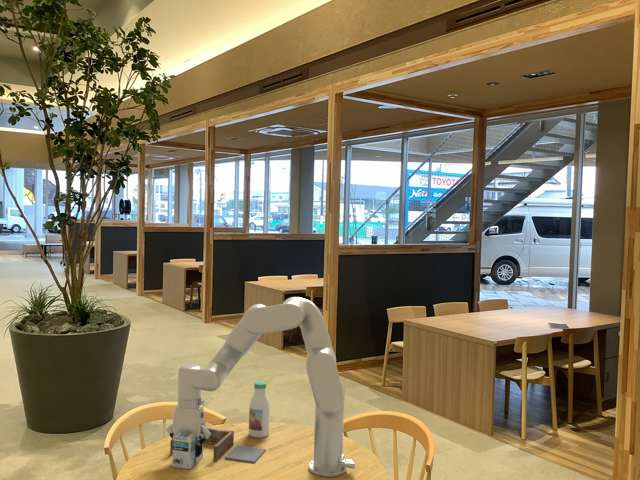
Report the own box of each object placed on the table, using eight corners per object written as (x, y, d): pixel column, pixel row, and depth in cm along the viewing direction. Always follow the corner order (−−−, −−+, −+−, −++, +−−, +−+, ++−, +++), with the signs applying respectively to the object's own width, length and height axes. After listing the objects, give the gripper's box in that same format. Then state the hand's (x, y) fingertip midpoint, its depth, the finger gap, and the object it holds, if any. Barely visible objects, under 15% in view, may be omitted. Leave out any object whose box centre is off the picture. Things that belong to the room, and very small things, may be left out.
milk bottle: (261, 429, 229) (263, 378, 228) (273, 435, 223) (274, 383, 222) (244, 433, 224) (246, 381, 223) (256, 439, 218) (257, 387, 218)
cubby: (233, 444, 213) (233, 431, 213) (216, 461, 199) (217, 446, 199) (189, 438, 218) (190, 425, 217) (170, 454, 203) (170, 440, 203)
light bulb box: (190, 470, 192) (191, 437, 191) (171, 467, 193) (172, 435, 192) (203, 456, 202) (204, 426, 202) (185, 454, 203) (186, 424, 203)
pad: (265, 450, 209) (265, 448, 209) (254, 463, 198) (254, 461, 198) (236, 446, 212) (236, 444, 212) (224, 458, 201) (224, 457, 201)
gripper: (217, 401, 198) (216, 453, 199) (171, 396, 202) (170, 446, 203) (208, 408, 191) (206, 462, 192) (160, 402, 195) (159, 455, 196)
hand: (188, 453), depth 197 cm, fingers closed on light bulb box, 6 cm apart
